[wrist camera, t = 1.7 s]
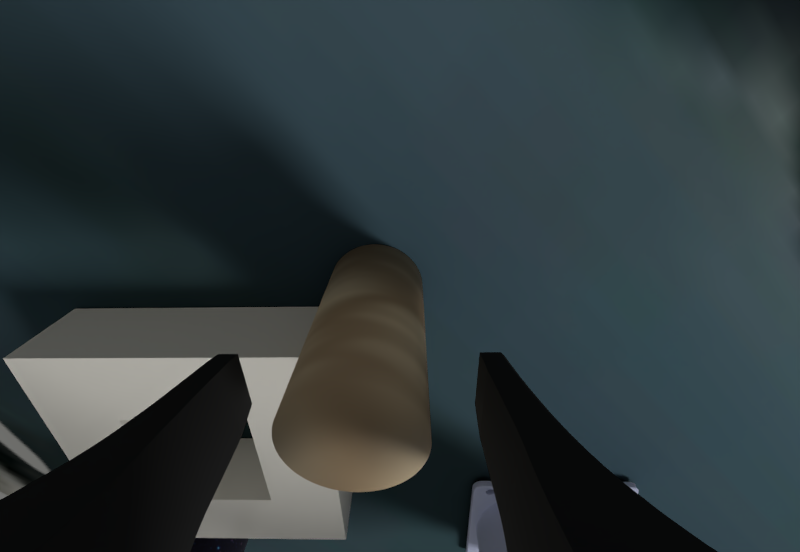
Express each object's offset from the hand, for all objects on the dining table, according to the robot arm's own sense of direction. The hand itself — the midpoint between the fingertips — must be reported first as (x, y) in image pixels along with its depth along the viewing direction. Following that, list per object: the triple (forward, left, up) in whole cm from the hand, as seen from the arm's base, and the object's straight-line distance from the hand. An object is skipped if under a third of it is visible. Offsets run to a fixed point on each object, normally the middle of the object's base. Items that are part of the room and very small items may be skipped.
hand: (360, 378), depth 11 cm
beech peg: (0, 0, -6) cm, 6 cm away
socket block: (+8, +7, -6) cm, 12 cm away
